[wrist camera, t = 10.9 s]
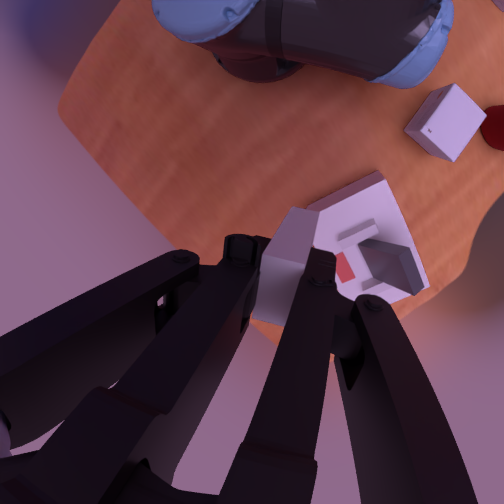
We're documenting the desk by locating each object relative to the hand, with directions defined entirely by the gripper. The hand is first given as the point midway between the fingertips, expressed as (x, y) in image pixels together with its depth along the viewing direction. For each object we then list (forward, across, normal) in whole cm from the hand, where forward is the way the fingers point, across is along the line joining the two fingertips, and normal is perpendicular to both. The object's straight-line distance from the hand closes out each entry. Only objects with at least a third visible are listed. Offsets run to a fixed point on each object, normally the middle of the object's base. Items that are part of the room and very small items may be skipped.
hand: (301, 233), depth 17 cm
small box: (+31, +14, +10) cm, 35 cm away
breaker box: (+30, +8, -9) cm, 33 cm away
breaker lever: (+21, +8, -9) cm, 25 cm away
